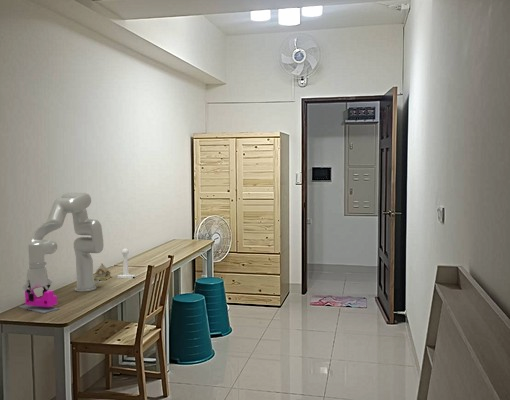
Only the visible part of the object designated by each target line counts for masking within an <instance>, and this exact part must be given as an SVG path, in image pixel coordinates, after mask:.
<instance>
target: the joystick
mask: <svg viewBox="0 0 510 400" xmlns="http://www.w3.org/2000/svg"><path fill="white" fill-rule="evenodd" d="M121 254H122V256H123V258H122V261H123V263H122V265H123V266H122V267H123V268H122V274H117V275H116V276H117V278H132V277H135V278H136V274H131V273H130V271H129V263H128V261H129V260H128V254H129V249H128V248H126V247H124V248H123V249H121Z"/></svg>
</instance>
